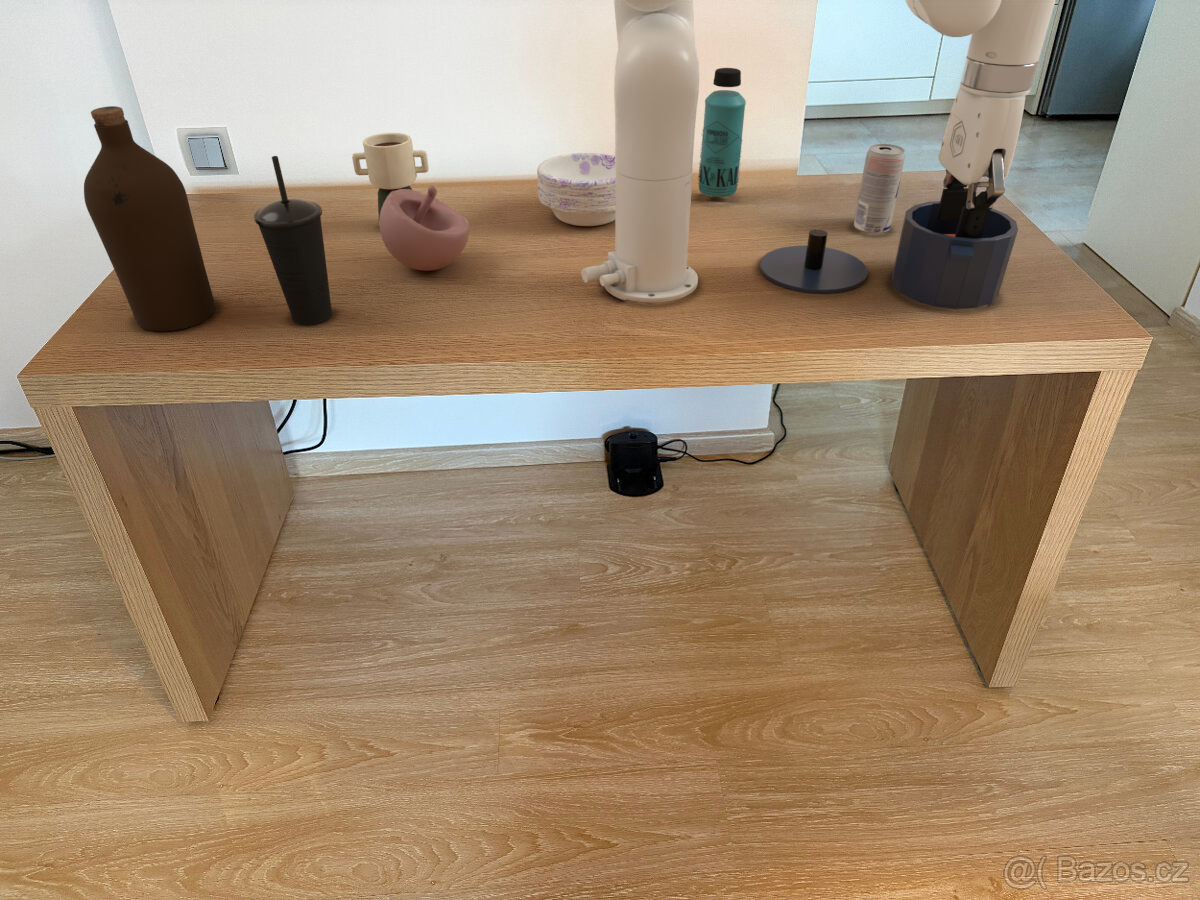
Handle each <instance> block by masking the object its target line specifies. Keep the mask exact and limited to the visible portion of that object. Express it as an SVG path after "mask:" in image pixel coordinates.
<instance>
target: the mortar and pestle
mask: <svg viewBox="0 0 1200 900" xmlns="http://www.w3.org/2000/svg"><path fill="white" fill-rule="evenodd" d="M437 195H438V189H437V187H435V186H434V185H429V186H428V187H427V192H426V193H423V192H421V191H418V190H414V189H412V190H409V189H399V190H396V191H392V192H391V193H390V194H389V195H388V196H387V198H386V200H385V202H384V204H383V206H382V209H381V212H380V218H379V217H378V225H379V232H380V236H381V240H382V242H383V244H384V246H385V248H386V250H387V251H388V252H389V254H390V255H391V256H392V257H393V258H394V259H395V260H396V261H397V262H398V263H401V264H402V265H404V266H406V267H407V268H410V269H413V270H416V271H423V272H430V271H436V270H437V271H438V270H441V269H443V268H446V267H447V266H449V265H451V264H452V263H454V262H455V261H456V260H457V259H458V258H459V257H460V256H461V254H462V253H463V252H464V250H465V248H466V245H467V243H468V241H469V235H470V222H469V221H468V220H467V218H466V217H465V216H464V215H463V214H462V213H461V212H459V211H458V210H456V209H455V208H453V207H452V206H450V205H448V204H447V203H445V202H443V201H442V200H440V199H439V198H436V196H437Z"/></svg>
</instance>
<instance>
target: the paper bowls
mask: <svg viewBox="0 0 1200 900" xmlns="http://www.w3.org/2000/svg"><path fill="white" fill-rule="evenodd" d="M536 175H537V182H536V183H537V196H538V200H539V202H540V203H541V204H542V205H544V206H545V207H548V208H550V209H551V211H552V213H553V214H554V216H555V217H556V218H557V219H558V220H559V221H560V222H563V223H565V224H568V225H572V226H578V227H595V226H596V227H597V226H602V225H606V224H610V223H611V222H615V154H614V155H613V154H608V153H606V154H605V153H595V152H577V153H568V154H561V155H556V156H553V157H550V158H547V159H545V160H543V161H542V162H541V163H539V165H538V166H537V169H536Z"/></svg>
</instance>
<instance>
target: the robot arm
mask: <svg viewBox="0 0 1200 900" xmlns="http://www.w3.org/2000/svg"><path fill="white" fill-rule="evenodd" d="M904 1H905V3H906V5H907V7H908V9H909V10H910V12H911V13H912V15H914V16H915V17H917V18H918V19H919V20H921V21H922V22H923V23H925V24H926V25H928V26H930V27H931V28H932V29H934V30H935V31H936V32H937V33H939V34H940V35H943V36H946V37H949V38H963V37H968V36H970V35H971V36H970V40H969V44H968V49H967V54H966V57H965V62H964V65H963V70H962V75H961V79H960V81H959V82H960V83H959V88H958V90H957V92H956V95H955V98H954V100H953V104H952V107H951V110H950V113H949V116H948V120H947V124H946V126H945V131H944V133H943V137H942V142H941V145H940V149H939V153H938V161H939V164H940V165H941V166H942V167H943V168H944V169H945V173H946V174H945V175H944V179H943V181H942V186H943V189H942V192H941V197H940V200H939V201H940V205H939V209H938V213H937V219H938V220H940V221H946V220H959V223H958V227H957V230H956V234H955V237H961V238H971V239H978V238H982V237H983V233H984V229H985V226H986V222H987V218H988V215H989V211H990V210H991V209H992V208H993V209H994V203H996V202H997V200H998V199H999V198H1001V196H1003V195H1004V194H1005V193H1006V182H1005V181H1006V180H1007V178H1008V176H1009V172H1010V170H1011V167H1012V164H1013V160H1014V156H1015V153H1016V149H1017V145H1018V141H1019V135H1020V131H1021V125H1022V120H1023V116H1024V115H1023V114H1024V110H1025V105H1026V104H1025V103H1026V96H1028V95H1029V94H1030V93H1031V90H1032V86H1033V82H1034V79H1035V75H1036V71H1037V68H1038V65H1039V61H1040V57H1041V54H1042V50H1043V46H1044V43H1045V39H1046V36H1047V33H1048V29H1049V25H1050V22H1051V19H1052V15H1053V11H1054V8H1055V3H1056V0H904ZM613 7H614V16H615V17H614V18H615V28H616V30H615V31H616V41H617V53H616V57H615V64H614V65H615V66H614V75H613V76H614V77H613V78H614V79H613V99H614V100H613V101H614V145H615V146H614V156H615V220H614V229H615V231H614V251H609V252H607V260H604V261H602V263H601V264H599V265H591V266H587V267H583V268H581V270H580V271H581V272H580V273H581V279H582V281H583V283H585V284H588V283H592V282H597V281H599V284H600V285H601V287H604V289H605V290H606V291H607V292H608V293H609V294H610V295H612V296H613V297H614V298H616V299H618V300H621V301H624V302H626V301H627V300H628V301H632V302H639V303H664V302H665V303H666V302H671V301H677V300H679V299H682V298H684V297H687V296H689V295H691V294H692V293H693V292H694V291H696V289H697V287H698V284H699V276H698V274H697V272H696V270H694V269H693V268H692V267H691V266H689V265H688V255H689V241H690V240H689V238H690V236H689V235H690V222H691V206H692V205H691V203H692V188H693V187H692V185H693V164H694V147H695V133H696V123H697V120H696V119H697V112H698V103H699V93H700V91H699V90H700V62H699V57H698V52H697V47H696V39H695V38H696V37H695V22H694V21H695V19H694V18H695V17H694V16H695V15H694V0H613ZM983 177H984V178H988V179H987V181H980V180H981V179H982V178H983ZM978 188H985V191H984V190H983V191H980V192H979V193H978V194H977V191H978ZM966 202H967V205H966ZM965 206H966V207H965Z"/></svg>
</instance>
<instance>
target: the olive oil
mask: <svg viewBox="0 0 1200 900" xmlns="http://www.w3.org/2000/svg"><path fill="white" fill-rule="evenodd" d="M90 115H91V117H92V120H93V121H94V125H93V127H94V129H95V132H96V134H97V137H98V140H99V142H100V150H99V152H98V154H97V156H96V158H95V159H94V161H93V163H92V165H91V166H90V167H89V169H88V172H87V173H86V175H85V178H84V183H83V198H84V204H85V207H86V210H87V212H88V214H89V216H90V219H91V221H92V223H93V225H94V227H95V229H96V232H97V234H98V235H99V238H100V240H101V243H102V245H103V247H104V250H105V252H106V254H107V256H108V259H109V262H110V263H111V266H112V268H113V270H114V272H115V275H116V277H117V279H118V282H119V283H120V286H121V288H122V290H123V293H124V295H125V297H126V300H127V303H128V305H129V308H130V310H131V312H132V315H133V317H134V319H135V322H136V324H137V325H138V326H139V327H140V328H142V329H144V330H146V331H151V332H174V331H179V330H184V329H188V328H191V327H194V326H197V325H198V324H201V323H203V322H205V321H206V320H207V319H209V318H211V316H212V315H213V314H214V313H215V311H216V302H215V297H214V295H213V291H212V288H211V284H210V281H209V277H208V274H207V270H206V266H205V261H204V258H203V254H202V250H201V247H200V243H199V237H198V234H197V231H196V227H195V223H194V219H193V213H192V210H191V207H190V202H189V199H188V195H187V191H186V188H185V185H184V184H183V182H182V180H181V179H180V177H179V176H178V173H176V172H175V170H174V169H173V167H171V166H170V165H169V164H167V162H165V161H163V160H162V159H161V158H159V157H157V156H156V155H154V154H153V153H152V152H150V151H148V150H147V149H145V148H144V147H142V146H140V145H139V144H138V143H137V142H136V141H135V140H134V137H133V134H132V131H131V128H130V123H129V120H128V119H126V118H125V113H124V110H123V108H122V107H120V106H117V105H116V106H114V105H113V106H110V105H109V106H102V107H98V108H94V109H93V110H91V111H90Z"/></svg>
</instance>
